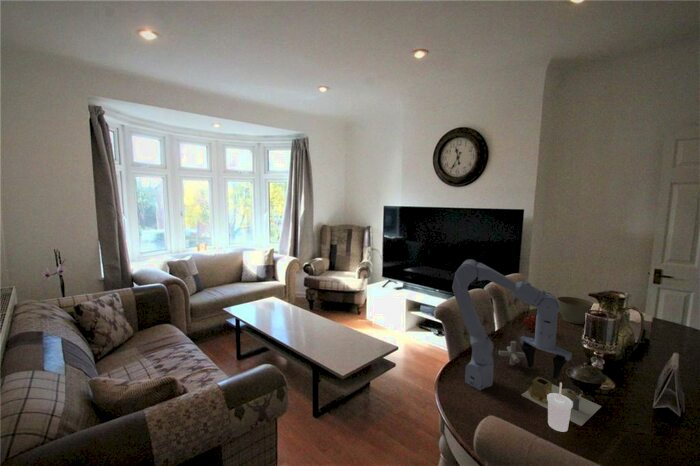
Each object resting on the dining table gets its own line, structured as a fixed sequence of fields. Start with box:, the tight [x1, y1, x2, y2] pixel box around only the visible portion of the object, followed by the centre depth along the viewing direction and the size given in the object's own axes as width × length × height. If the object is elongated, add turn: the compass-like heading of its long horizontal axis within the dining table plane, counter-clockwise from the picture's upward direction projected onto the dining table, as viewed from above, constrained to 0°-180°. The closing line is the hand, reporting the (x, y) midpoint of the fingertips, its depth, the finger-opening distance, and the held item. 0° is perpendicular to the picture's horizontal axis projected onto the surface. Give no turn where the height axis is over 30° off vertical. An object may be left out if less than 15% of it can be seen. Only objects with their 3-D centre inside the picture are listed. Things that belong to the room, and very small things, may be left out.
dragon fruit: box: [521, 314, 537, 332], centre depth 154 cm, size 8×8×12 cm
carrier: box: [521, 383, 602, 427], centre depth 100 cm, size 15×17×4 cm
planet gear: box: [527, 376, 553, 403], centre depth 102 cm, size 7×7×5 cm
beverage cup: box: [547, 381, 573, 433], centre depth 88 cm, size 6×6×14 cm
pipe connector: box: [498, 340, 526, 366], centre depth 121 cm, size 10×10×10 cm
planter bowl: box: [556, 296, 595, 325], centre depth 165 cm, size 16×16×11 cm
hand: (542, 371), depth 101 cm, fingers open, 7 cm apart
